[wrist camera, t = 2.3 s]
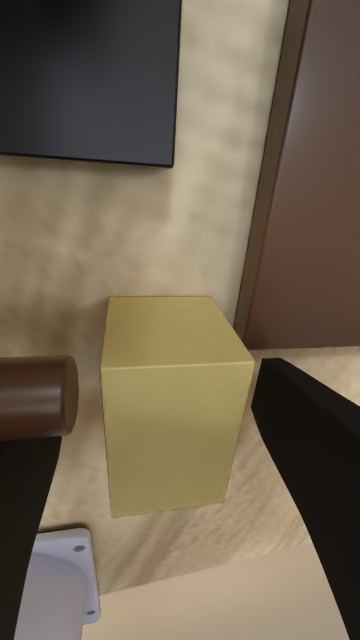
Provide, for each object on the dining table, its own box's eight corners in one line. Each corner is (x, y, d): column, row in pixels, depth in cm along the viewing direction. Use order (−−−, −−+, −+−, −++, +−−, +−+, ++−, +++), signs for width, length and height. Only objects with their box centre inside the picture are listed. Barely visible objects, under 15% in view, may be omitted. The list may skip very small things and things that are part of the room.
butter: (197, 412, 11) (224, 504, 8) (115, 418, 11) (110, 519, 8) (211, 295, 9) (256, 361, 6) (109, 296, 9) (99, 369, 6)
